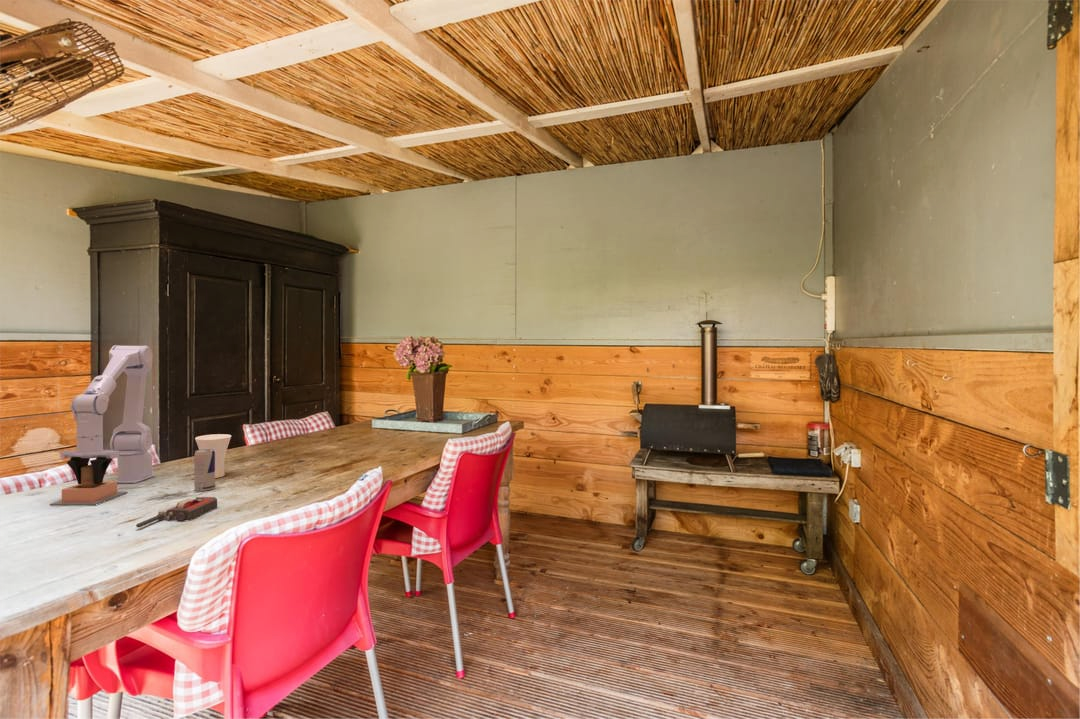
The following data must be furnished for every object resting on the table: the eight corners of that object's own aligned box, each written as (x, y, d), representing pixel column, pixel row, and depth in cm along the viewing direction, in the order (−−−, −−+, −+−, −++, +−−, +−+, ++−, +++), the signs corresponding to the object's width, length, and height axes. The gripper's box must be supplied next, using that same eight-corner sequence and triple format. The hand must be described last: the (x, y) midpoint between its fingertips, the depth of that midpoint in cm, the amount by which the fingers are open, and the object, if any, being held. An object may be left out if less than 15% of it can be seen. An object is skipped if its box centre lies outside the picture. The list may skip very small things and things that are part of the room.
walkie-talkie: (191, 506, 145) (132, 531, 125) (191, 490, 145) (132, 513, 125) (222, 507, 145) (168, 532, 125) (222, 491, 145) (168, 514, 125)
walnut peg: (88, 491, 151) (88, 464, 151) (103, 491, 151) (103, 464, 151) (77, 495, 147) (77, 467, 147) (92, 495, 147) (91, 467, 147)
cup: (205, 472, 181) (205, 434, 181) (237, 472, 182) (237, 434, 182) (188, 480, 171) (188, 439, 170) (222, 480, 172) (222, 439, 171)
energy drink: (219, 487, 163) (219, 449, 163) (206, 492, 158) (206, 452, 158) (203, 486, 164) (203, 448, 163) (190, 491, 158) (190, 452, 158)
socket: (85, 493, 155) (85, 480, 154) (127, 493, 155) (127, 479, 155) (49, 505, 143) (49, 491, 143) (96, 505, 143) (95, 491, 143)
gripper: (50, 438, 144) (51, 487, 144) (105, 438, 145) (106, 486, 145) (71, 434, 151) (72, 480, 151) (124, 434, 152) (124, 480, 152)
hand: (90, 483), depth 149 cm, fingers closed on walnut peg, 4 cm apart
